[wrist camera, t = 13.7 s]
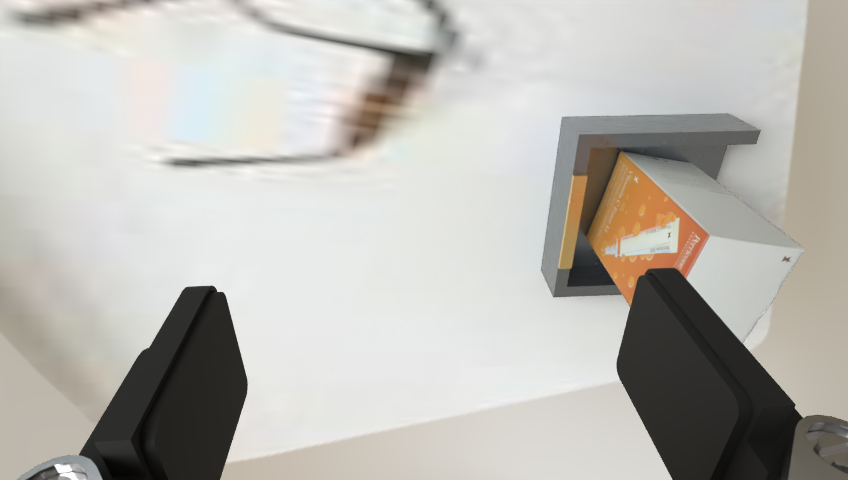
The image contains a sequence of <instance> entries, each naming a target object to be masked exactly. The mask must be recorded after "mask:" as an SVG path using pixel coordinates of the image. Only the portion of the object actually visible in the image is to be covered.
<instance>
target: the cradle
mask: <svg viewBox="0 0 848 480" xmlns="http://www.w3.org/2000/svg"><path fill="white" fill-rule="evenodd" d="M760 131H761V130H759V129H757V128H755V127H753V126H751V125H749V124H747V123H745V122H743V121H741V120H739V119H738V118H736V117H734V116H732V115H730V114H688V115H640V116H591V117H562V122H561V129H560V136H559V143H558V151H557V158H556V165H555V172H554V180H553V187H552V194H551V201H550V209H549V216H548V223H547V230H546V238H545V245H544V252H543V259H542V267H541V271H542V274H543V276H544V278H545V280H546V282H547V284H548V287H549V289H550V291H551V293H552V295H553V297H571V296H597V295H622V293H621V292H620V290H619V288H618V287H617V285H616V284H615V282H614V281H613V279H612V278H611V276H610V274H609V273H608V271H607V270H606V268H605V267H604V265H603V264H602V262H601V260H600V259H599V257H598V256H597V254H596V253H595V251H594V249H593V248H592V246H591V245H590V243H589V242H588V240H587V238H586V236H587V234H588V231H589V229H590V227H591V224H592V222H593V220H594V217H595V215H596V213H597V210H598V208H599V206H600V203H601V201H602V198H603V196H604V193H605V191H606V188H607V186H608V183H609V181H610V179H611V176H612V173H613V171H614V168H615V166H616V163H617V160H618V157H619V154H620V152H621V151H624V152H630V153H635V154H641V155H646V156H652V157H658V158H664V159H670V160H676V161H682V162H687V163H692V164H694V165H695V166H696V167H698V168H699V169H700V170H702V171H703V172H704V173H706V174H707V175H708V176H710V177H711V178H713V179H714V180H715V181H716V179H717V176H718V172H719V169H720V166H721V163H722V160H723V156H724V153H725V150H726V147H727V145H736V144H756V143H757V140H758V137H759V134H760Z"/></svg>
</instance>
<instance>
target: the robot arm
mask: <svg viewBox="0 0 848 480" xmlns="http://www.w3.org/2000/svg"><path fill="white" fill-rule="evenodd" d="M617 372H618V375H619V378H620V380H621V382H622V384H623V386H624V387H625V389H626V391H627V393H628V395H629V397H630V399H631V401H632V403H633V405H634V407H635V408H636V410H637V412H638V414H639V416H640V418H641V420H642V422H643V424H644V426H645V427H646V430H647V431H648V433H649V435H650V437H651V439H652V441H653V443H654V445H655V446H656V449H657V451H658V452H659V454H660V456H661V458H662V460H663V462H664V464H665V466H666V468H667V470H668V472H669V474H670V475H671V477H672V479H673V480H848V422H847V421H844V420H841V419H838V418H835V417H832V416H824V415H813V416H806V417H805V418H803V417H802V416H801V415H800V414H799V413H798V412H797V410H796V409H795V408H794V407H795V404H794V402H793V401H792V400H791V399H790V398H789V397H788V396H787V394H786V393H785V392H784V391H783V390H782V389H781V387H780V386H779V385H778V384H777V383H776V382H775V381H774V379H773V378H772V377H771V376H770V375H769V374H768V373H767V372H766V370H765V369H764V368H763V367H762V366H761V364H760V363H759V362H758V361H757V360H756V359H755V357H754V356H753V355H752V354H751V353H750V352H749V351H748V349H747V348H746V347H745V346H744V345H743V344H742V343H741V341H740V340H739V339H738V338H737V337H736V336H735V335H734V333H733V332H732V331H731V330H730V329H729V328H728V326H727V325H726V324H725V323H724V322H723V321H722V320H721V318H720V317H719V316H718V315H717V314H716V313H715V312H714V310H713V309H712V308H711V307H710V306H709V305H708V304H707V302H706V301H705V300H704V299H703V298H702V297H701V295H700V294H699V293H698V292H697V291H696V290H695V289H694V287H693V286H692V285H691V284H690V283H689V282H688V281H687V279H686V278H685V277H684V276H683V275H682V274H681V273H680V271H679V270H677V269H676V268H651V269H648V270H647V271H646V272H645V275H641V276H639V278H638V280H637V283H636V287H635V291H634V295H633V299H632V303H631V307H630V311H629V315H628V319H627V323H626V327H625V331H624V335H623V339H622V343H621V347H620V351H619V355H618V358H617ZM247 386H248V384H247V377H246V373H245V369H244V365H243V361H242V357H241V353H240V350H239V346H238V342H237V338H236V334H235V330H234V326H233V322H232V319H231V315H230V311H229V307H228V303H227V299H226V296H225V294H224V293H223V292H217V290H216V288H215V287H214V286H196V287H186V288H185V289H184V290H183V291H182V293H181V295H180V296H179V298H178V300H177V301H176V303H175V305H174V307H173V308H172V310H171V312H170V313H169V315H168V317H167V318H166V320H165V322H164V324H163V325H162V327H161V329H160V330H159V332H158V334H157V335H156V337H155V339H154V341H153V342H152V344H151V346H150V347H149V348H147V349H145V350H143V351H142V352H141V353H140V355H139V356H138V357H137V359H136V361H135V362H134V364H133V366H132V367H131V369H130V371H129V372H128V374H127V376H126V377H125V379H124V381H123V382H122V384H121V386H120V387H119V389H118V391H117V392H116V394H115V396H114V397H113V399H112V401H111V402H110V404H109V406H108V407H107V409H106V411H105V412H104V414H103V416H102V417H101V419H100V421H99V422H98V424H97V426H96V427H95V429H94V431H93V432H92V434H91V435H90V437H89V439H88V440H87V442H86V444H85V446H84V447H83V449H82V450H81V452H80V454H79V455H67V456H62V457H58V458H54V459H51V460H49V461H46V462H44V463H41V464H39V465H37V466H35V467H34V468H32V469H31V470H29V471H28V472H26V473H24V474H23V475H21V476H20V477H19V478H18V479H17V480H220V478H221V475H222V471H223V468H224V465H225V462H226V459H227V456H228V452H229V449H230V446H231V443H232V440H233V436H234V433H235V430H236V427H237V424H238V421H239V417H240V414H241V411H242V408H243V405H244V401H245V398H246V395H247Z"/></svg>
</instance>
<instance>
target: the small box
mask: <svg viewBox="0 0 848 480" xmlns="http://www.w3.org/2000/svg"><path fill="white" fill-rule="evenodd" d="M586 238H587V240H588V242H589V243H590V245H591V246H592V248H593V249H594V251H595V253H596V254H597V256H598V257H599V259H600V260H601V262H602V264H603V265H604V267H605V268H606V270H607V271H608V273H609V274H610V276H611V278H612V279H613V281H614V282H615V284H616V285H617V287H618V288H619V290H620V292H621V293H622V295H623V296H624V298H625V299H626V301H627V303H628V304H629V306H630V307H631V303H632V299H633V295H634V291H635V287H636V283H637V280H638V278H639V276H641V275H645V272H646V271H647V270H648V269H651V268H676V269H677V270H679V271H680V273H681V274H682V275H683V276H684V277H685V278H686V279H687V281H688V282H689V283H690V284H691V285H692V286H693V287H694V289H695V290H696V291H697V292H698V293H699V294H700V295H701V297H702V298H703V299H704V300H705V301H706V302H707V304H708V305H709V306H710V307H711V308H712V309H713V310H714V312H715V313H716V314H717V315H718V316H719V317H720V318H721V320H722V321H723V322H724V323H725V324H726V325H727V326H728V328H729V329H730V330H731V331H732V332H733V333H734V335H735V336H736V337H737V338H738V339H739V340H740V341H741V343H742V344H743V342H744V341H745V339H746V338H747V336H748V335H749V334H750V332H751V331H752V329H753V328H754V326H755V325H756V323H757V322H758V320H759V319H760V318H761V316H762V315H763V314H764V312H765V311H766V310H767V309H768V307H769V306H770V305H771V303H772V302H773V300H774V299H775V297H776V295H777V293H778V291H779V289H780V288H781V286H782V284H783V282H784V281H785V280H786V278H787V276H788V275H789V273H790V272H791V270H792V269H793V267H794V265H795V264H796V262H797V261H798V260H799V258H800V257H801V255H802V254H803V252H804V250H805V249H804V247H803V246H801V245H800V244H799V243H797V242H796V241H795V240H793V239H792V238H791V237H789V236H788V235H787V234H785V233H784V232H783V231H781V230H780V229H779V228H777V227H776V226H775V225H773V224H772V223H771V222H769V221H768V220H767V219H765V218H764V217H763V216H761V215H760V214H759V213H757V212H756V211H755V210H753V209H752V208H751V207H750V206H748V205H747V204H746V203H744V202H743V201H742V200H740V199H739V198H738V197H737V196H735V195H734V194H733V193H731V192H730V191H729V190H727V189H726V188H725V187H723V186H722V185H721V184H719V183H718V182H717V181H715V180H714V179H713V178H711V177H710V176H708V175H707V174H706V173H704V172H703V171H702V170H700V169H699V168H698V167H696V166H695V165H694V164H692V163H687V162H682V161H676V160H670V159H664V158H658V157H652V156H646V155H641V154H635V153H630V152H624V151H621V152H620V154H619V157H618V160H617V163H616V166H615V168H614V171H613V173H612V176H611V179H610V181H609V183H608V186H607V188H606V191H605V193H604V196H603V198H602V201H601V203H600V206H599V208H598V210H597V213H596V215H595V217H594V220H593V222H592V224H591V227H590V229H589V231H588V234H587V236H586Z"/></svg>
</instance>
